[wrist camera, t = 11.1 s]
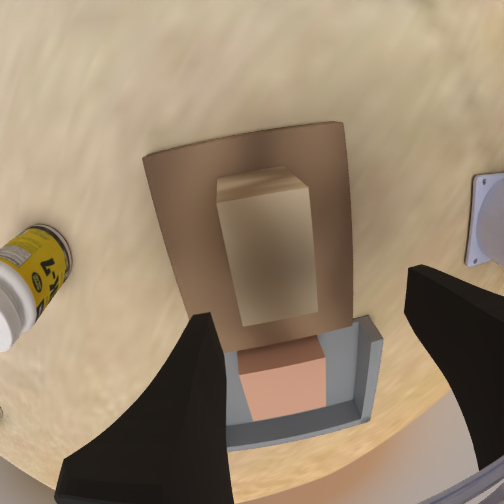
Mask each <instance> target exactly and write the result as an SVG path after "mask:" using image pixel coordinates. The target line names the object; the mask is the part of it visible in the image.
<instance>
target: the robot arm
mask: <svg viewBox="0 0 504 504" xmlns="http://www.w3.org/2000/svg"><path fill="white" fill-rule="evenodd" d="M482 181H483V183H482ZM491 260H493V261H494V262H496V263H497V264H498V265H500V266H501V267H502V268H504V173H494V174H484V175H477V176H476V177H475V178H474V182H473V200H472V213H471V223H470V232H469V240H468V248H467V255H466V261H465V264H466V265H467V266H468V267H473V266H476V265H479V264H482V263H485V262H488V261H491ZM404 314H405V316H406V317H407V319H408V321H409V323H410V325H411V327H412V329H413V331H414V333H415V334H416V336H417V337H418V339H419V340H420V341H421V343H422V344H423V346H424V347H425V349H426V350H427V351H428V353H429V354H430V356H431V357H432V359H433V360H434V361H435V363H436V364H437V366H438V367H439V369H440V370H441V372H442V373H443V375H444V376H445V378H446V380H447V381H448V383H449V385H450V387H451V389H452V391H453V393H454V395H455V397H456V399H457V402H458V404H459V406H460V409H461V411H462V413H463V416H464V418H465V421H466V424H467V427H468V430H469V433H470V436H471V439H472V442H473V445H474V450H475V454H476V458H477V462H478V468H479V472H477V473H476V474H474V475H472V476H470V477H469V478H467V479H465V480H463V481H462V482H460V483H458V484H456V485H454V486H452V487H451V488H449V489H447V490H445V491H443V492H441V493H439V494H437V495H435V496H433V497H431V498H428V499H426V500H424V501H422V502H420V503H418V504H464V503H466V502H468V501H469V500H471V499H473V498H475V497H476V496H478V495H479V494H481V493H483V492H484V491H486V490H487V489H489V488H491V487H492V486H494V485H495V484H497V483H498V482H499V481H501V480H502V479H504V296H501V295H498V294H495V293H492V292H490V291H487V290H484V289H482V288H479V287H477V286H474V285H472V284H469V283H467V282H465V281H462V280H460V279H458V278H455V277H453V276H451V275H448V274H446V273H444V272H441V271H439V270H436V269H434V268H431V267H429V266H425V265H422V264H421V265H417V266H414V267H410V268H408V279H407V289H406V299H405V308H404ZM226 400H227V377H226V367H225V358H224V353H223V350H222V347H221V344H220V341H219V338H218V334H217V331H216V328H215V325H214V322H213V319H212V315H211V312H207V313H201V314H195V315H193V316H192V317H191V319H190V320H189V322H188V324H187V326H186V328H185V330H184V331H183V333H182V335H181V337H180V339H179V340H178V342H177V344H176V345H175V347H174V349H173V350H172V352H171V354H170V355H169V357H168V359H167V360H166V362H165V363H164V365H163V366H162V368H161V369H160V371H159V372H158V374H157V375H156V377H155V378H154V379H153V381H152V382H151V383H150V385H149V386H148V387H147V388H146V390H145V391H144V392H143V393H142V394H141V396H140V397H139V398H138V399H137V400H136V401H135V402H134V403H133V404H132V405H131V406H130V407H129V408H128V409H127V410H126V411H125V412H124V413H123V414H122V415H121V416H120V417H119V418H118V419H117V420H116V421H115V422H114V423H113V424H112V425H111V426H110V427H108V428H107V429H106V430H105V431H104V432H102V433H101V434H100V435H99V436H97V437H96V438H95V439H94V440H92V441H91V442H89V443H88V444H87V445H85V446H84V447H82V448H81V449H79V450H78V451H76V452H75V453H73V454H72V455H70V456H68V457H67V458H65V459H64V460H63V463H62V467H61V471H60V475H59V479H58V482H57V487H56V491H55V495H54V499H55V501H56V503H57V504H234V500H233V494H232V487H231V480H230V472H229V464H228V455H227V446H226ZM479 504H504V483H503V484H501V485H500V486H499V487H498V488H497V489H496V490H495V491H494V492H493V493H492V494H490V495H489V496H488V497H487V498H485V499H484V500H483V501H481V502H480V503H479Z"/></svg>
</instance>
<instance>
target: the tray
mask: <svg viewBox="0 0 504 504" xmlns="http://www.w3.org/2000/svg"><path fill="white" fill-rule="evenodd" d="M317 337H318V340H319V342H320V345H321V347H322V350H323V352H324V355H325V359H326V406H325V407H321V408H316V409H312V410H308V411H304V412H299V413H295V414H290V415H285V416H280V417H275V418H269V419H264V420H258V421H253V419H252V416H251V412H250V409H249V406H248V403H247V400H246V397H245V393H244V390H243V387H242V384H241V380H240V377H239V370H238V359H237V351H234V352H228V353H224V358H225V367H226V377H227V400H226V446H227V452H232V451H240V450H247V449H254V448H260V447H266V446H272V445H278V444H283V443H288V442H293V441H298V440H302V439H307V438H311V437H315V436H319V435H323V434H327V433H331V432H335V431H339V430H342V429H346V428H349V427H353V426H356V425H359V424H363V423H366V422H369V421H370V418H371V413H372V408H373V403H374V398H375V392H376V386H377V381H378V375H379V368H380V362H381V355H382V347H383V340H384V339H383V337H382V336H381V334H380V332H379V331H378V329H377V328H376V326H375V325H374V323H373V321H372V320H371V318H370V317H369V315H368V316H364V317H360V318H356V319H353V325H352V326H350V327H346V328H342V329H338V330H334V331H330V332H326V333H322V334H318V335H317Z"/></svg>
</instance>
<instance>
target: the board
mask: <svg viewBox="0 0 504 504" xmlns="http://www.w3.org/2000/svg"><path fill="white" fill-rule="evenodd" d="M142 160H143V164H144V168H145V172H146V176H147V180H148V184H149V188H150V192H151V196H152V200H153V203H154V207H155V211H156V214H157V218H158V221H159V225H160V228H161V232H162V235H163V239H164V242H165V246H166V249H167V252H168V255H169V259H170V262H171V265H172V268H173V272H174V275H175V278H176V281H177V284H178V287H179V290H180V293H181V296H182V299H183V302H184V305H185V308H186V311H187V314H188V317H189V320H190V319H191V317H192V316H193V315H195V314H201V313H207V312H211V315H212V319H213V322H214V325H215V328H216V331H217V334H218V338H219V341H220V344H221V347H222V350H223V353H228V352H234V351H239V350H245V349H250V348H256V347H261V346H266V345H271V344H276V343H281V342H286V341H291V340H295V339H300V338H304V337H309V336H313V335H318V334H322V333H326V332H330V331H334V330H338V329H342V328H346V327H350V326H352V325H353V245H352V219H351V201H350V186H349V173H348V162H347V151H346V142H345V133H344V124H343V123H342V122H335V121H332V122H322V123H313V124H305V125H297V126H289V127H282V128H275V129H268V130H262V131H256V132H250V133H244V134H238V135H233V136H228V137H222V138H217V139H212V140H208V141H203V142H198V143H194V144H189V145H185V146H180V147H176V148H172V149H168V150H164V151H160V152H156V153H152V154H148V155H147V156H145V157H143V158H142ZM279 166H285V167H286V168H287V169H288V170H289V171H290V172H292V173H293V174H294V175H295V176H296V177H297V178H298V179H299V180H301V181H302V182H303V183H304V184H305V185H306V186H307V187H308V189H309V199H310V209H311V219H312V230H313V242H314V255H315V269H316V284H317V301H318V312H315V313H310V314H306V315H301V316H296V317H291V318H286V319H281V320H276V321H271V322H266V323H261V324H255V325H250V326H244V327H243V325H242V320H241V316H240V311H239V307H238V302H237V298H236V293H235V289H234V284H233V280H232V275H231V271H230V266H229V261H228V257H227V252H226V247H225V243H224V238H223V233H222V228H221V224H220V219H219V214H218V209H217V204H216V199H217V177H221V176H227V175H232V174H237V173H243V172H249V171H255V170H261V169H267V168H273V167H279Z"/></svg>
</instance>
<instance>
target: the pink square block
mask: <svg viewBox="0 0 504 504" xmlns="http://www.w3.org/2000/svg"><path fill="white" fill-rule="evenodd" d="M237 359H238V370H239V377H240V380H241V384H242V387H243V390H244V393H245V397H246V400H247V403H248V406H249V409H250V412H251V416H252V419H253V421H258V420H264V419H269V418H275V417H280V416H285V415H290V414H295V413H299V412H304V411H308V410H312V409H316V408H321V407H325V406H326V359H325V355H324V352H323V350H322V347H321V345H320V342H319V340H318V337H317V335H313V336H309V337H304V338H300V339H295V340H291V341H286V342H281V343H276V344H271V345H266V346H261V347H256V348H250V349H245V350H239V351H237Z"/></svg>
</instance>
